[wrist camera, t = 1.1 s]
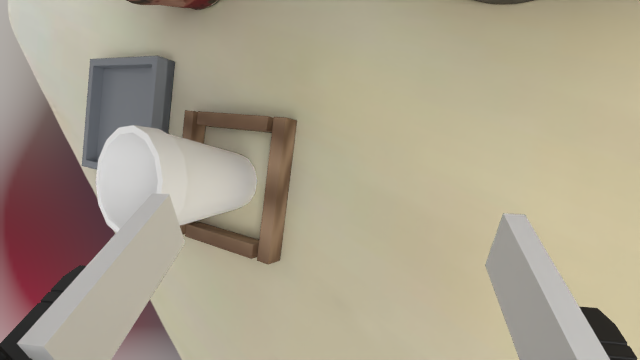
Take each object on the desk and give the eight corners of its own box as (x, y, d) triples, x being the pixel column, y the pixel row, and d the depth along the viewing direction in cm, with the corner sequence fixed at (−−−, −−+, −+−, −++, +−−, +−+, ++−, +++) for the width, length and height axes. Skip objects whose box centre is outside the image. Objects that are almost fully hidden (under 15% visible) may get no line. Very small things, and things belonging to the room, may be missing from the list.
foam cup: (198, 198, 43) (86, 205, 32) (221, 129, 41) (110, 110, 30) (251, 235, 39) (143, 258, 28) (279, 160, 37) (175, 152, 26)
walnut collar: (198, 113, 43) (185, 110, 42) (296, 120, 36) (285, 117, 34) (186, 229, 44) (173, 231, 43) (279, 260, 37) (268, 264, 35)
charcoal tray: (107, 64, 53) (90, 59, 51) (174, 61, 46) (157, 55, 43) (99, 166, 55) (81, 165, 52) (163, 181, 47) (146, 181, 45)
